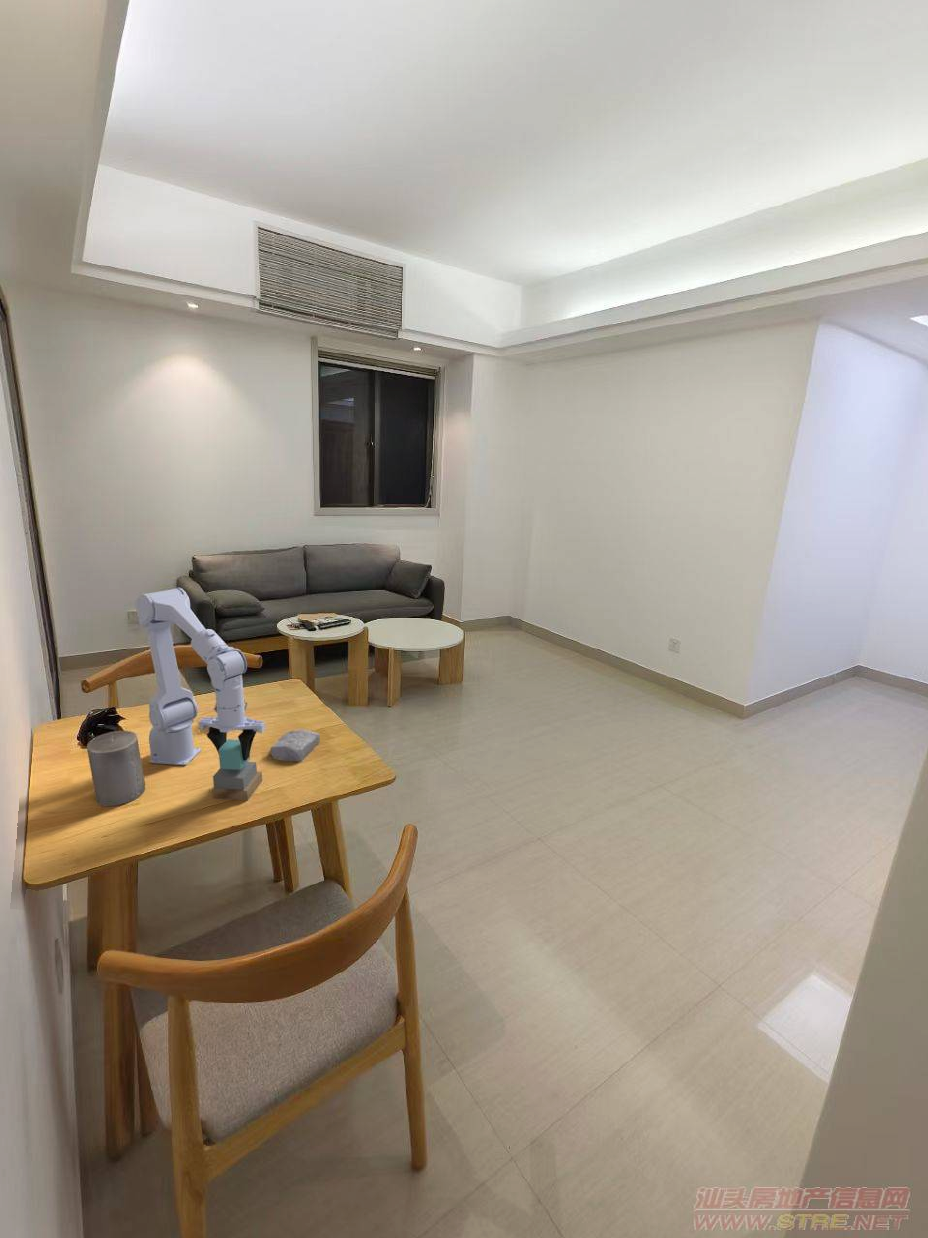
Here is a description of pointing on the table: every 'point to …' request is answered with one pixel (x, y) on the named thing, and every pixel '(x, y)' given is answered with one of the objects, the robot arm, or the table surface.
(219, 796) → the walnut slab
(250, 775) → the grey block
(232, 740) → the teal cube
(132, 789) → the pillar candle
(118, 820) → the table surface
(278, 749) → the stone block
